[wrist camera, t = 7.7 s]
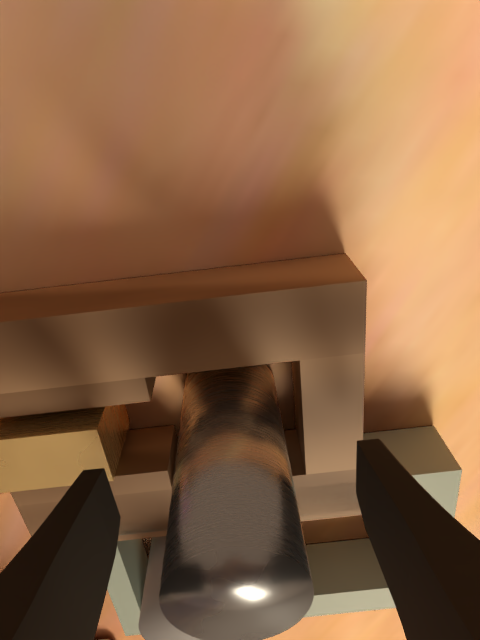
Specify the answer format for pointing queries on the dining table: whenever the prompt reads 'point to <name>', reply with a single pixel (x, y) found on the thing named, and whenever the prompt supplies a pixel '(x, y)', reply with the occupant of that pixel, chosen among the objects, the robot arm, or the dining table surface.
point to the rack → (324, 558)
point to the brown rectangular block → (60, 446)
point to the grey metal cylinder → (233, 514)
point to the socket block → (194, 368)
